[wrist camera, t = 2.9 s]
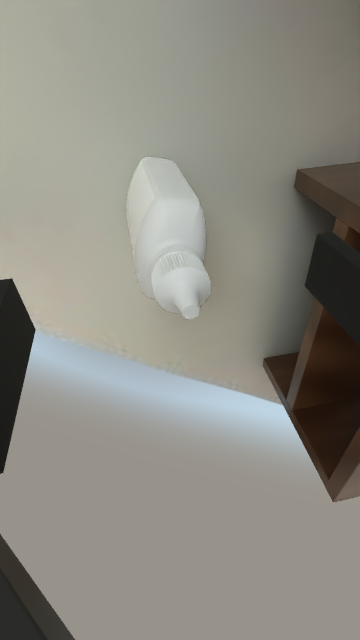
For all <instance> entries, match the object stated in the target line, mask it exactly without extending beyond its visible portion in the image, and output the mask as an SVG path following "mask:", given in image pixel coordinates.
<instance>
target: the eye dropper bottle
mask: <svg viewBox="0 0 360 640" xmlns="http://www.w3.org/2000/svg"><path fill="white" fill-rule="evenodd" d="M126 213H127V222H128V229H129V235H130V241H131V247H132V253H133V259H134V265H135V271H136V276H137V279H138V283H139V286H140V288H141V290H142V292H143V294H144V295H145V296H146V297H148V298H150V299H153V300H156V301H157V303H158V304H159V305H160V306H161V308H163V309H164V310H166V311H168V312H170V313H176V314H181V315H182V316H183V317H184V318H185V319H194V318H196V317H197V316H198V315H199V312H200V309H199V307H200V306H202V305H203V304H204V303H205V302H206V300H207V298H208V297H209V295H210V292H211V281H210V278H209V276H208V274H207V271H206V269H205V267H204V265H203V260H204V256H205V250H206V224H205V217H204V212H203V208H202V205H201V203H200V201H199V200H198V198H197V196H196V194H195V193H194V191H193V190H192V188H191V186H190V185H189V183H188V182H187V180H186V179H185V177H184V176H183V174H182V173H181V171H180V170H179V168H178V167H177V165H176V164H175V162H173V161H171V160H168V159H163V158H157V157H150V156H149V157H144V158H143V159H142V160H140V162H139V164H138V165H137V167H136V169H135V171H134V173H133V176H132V178H131V181H130V185H129V189H128V194H127V202H126Z"/></svg>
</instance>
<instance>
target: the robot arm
mask: <svg viewBox="0 0 360 640" xmlns="http://www.w3.org/2000/svg"><path fill="white" fill-rule="evenodd" d="M305 287H306V288H307V289H308V290H309V291H310V292H311V293H312V295H313V296H314V297H315V298H316V299H317V300H318V301H319V302H320V304H321V305H322V306H323V307H324V308H325V309H326V310H327V311H328V312H329V314H330V315H331V316H332V317H333V318H334V319H335V320H336V321H337V323H338V324H339V325H340V326H341V327H342V328H343V329H344V330H345V331H346V333H347V334H348V335H349V336H350V337H351V338H352V339H353V340H354V342H355V343H356V344H357V345H358V346H359V347H360V253H359V252H358V251H357V250H355V249H354V248H353V247H351V246H350V245H349V244H347V243H346V242H345V241H343V240H342V239H341V238H339V237H338V236H337V235H336V234H334V233H333V232H332V233H325V234H318V235H317V236H316V240H315V245H314V249H313V253H312V257H311V261H310V266H309V270H308V274H307V278H306V282H305ZM34 334H35V327H34V325H33V323H32V321H31V319H30V317H29V314H28V312H27V310H26V308H25V306H24V304H23V301H22V299H21V297H20V295H19V293H18V290H17V288H16V286H15V284H14V282H13V280H12V278H11V279H4V280H0V474H1V473H3V471H4V467H5V462H6V457H7V453H8V449H9V445H10V440H11V436H12V431H13V427H14V423H15V418H16V414H17V409H18V405H19V400H20V396H21V392H22V387H23V383H24V378H25V374H26V369H27V365H28V361H29V356H30V352H31V347H32V343H33V338H34ZM0 640H75V639H74V638H73V636H72V635H71V633H70V632H69V631H68V629H67V628H66V626H65V625H64V623H63V622H62V621H61V619H60V618H59V616H58V615H57V614H56V612H55V611H54V609H53V608H52V607H51V605H50V604H49V602H48V601H47V600H46V598H45V597H44V595H43V594H42V593H41V591H40V590H39V588H38V587H37V585H36V584H35V582H34V581H33V580H32V578H31V577H30V575H29V574H28V573H27V571H26V570H25V568H24V567H23V566H22V564H21V563H20V561H19V560H18V558H17V557H16V556H15V554H14V553H13V551H12V550H11V549H10V547H9V546H8V544H7V543H6V542H5V540H4V539H3V538H2V536H1V534H0Z"/></svg>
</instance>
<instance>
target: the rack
mask: <svg viewBox="0 0 360 640" xmlns="http://www.w3.org/2000/svg"><path fill="white" fill-rule="evenodd" d="M294 187H295V188H296V189H297V190H299V191H300V192H302V193H303V194H304V195H306V196H307V197H309V198H310V199H312V200H313V201H314V202H316V203H317V204H319V205H320V206H321V207H323V208H324V209H326V210H327V211H329V212H330V213H331V214H333V215H334V216H336V217H337V218H336V222H335V225H334V229H333V233H334V234H336V235H337V236H338V237H339V238H341V239H342V240H343V241H345V242H346V243H347V244H349V245H350V246H351V247H353V248H354V249H355V250H357V251H358V252H359V253H360V162H358V163H349V164H341V165H332V166H323V167H314V168H306V169H298V170H297V173H296V179H295V185H294ZM263 367H264V369H265V371H266V373H267V375H268V377H269V379H270V380H271V382H272V384H273V386H274V388H275V390H276V392H277V394H278V396H279V398H280V400H281V402H282V404H283V406H284V407H285V410H286V412H287V413H288V415H289V417H290V419H291V421H292V423H293V425H294V427H295V429H296V431H297V433H298V435H299V437H300V439H301V440H302V443H303V445H304V446H305V448H306V450H307V452H308V454H309V456H310V458H311V460H312V462H313V464H314V466H315V468H316V470H317V471H318V473H319V475H320V478H321V479H322V481H323V483H324V485H325V487H326V489H327V491H328V493H329V495H330V497H331V499H332V501H333V502H337V501H342V500H346V499H350V498H354V497H358V496H360V347H359V346H358V345H357V344H356V343H355V342H354V340H353V339H352V338H351V337H350V336H349V335H348V334H347V333H346V331H345V330H344V329H343V328H342V327H341V326H340V325H339V324H338V323H337V321H336V320H335V319H334V318H333V317H332V316H331V315H330V314H329V312H328V311H327V310H326V309H325V308H324V307H323V306H322V305H321V304H320V302H319V301H318V300H317V299H316V298H314V301H313V305H312V309H311V312H310V316H309V320H308V323H307V327H306V331H305V334H304V338H303V341H302V345H301V349H300V352H298V353H292V354H287V355H281V356H276V357H270V358H265V359H264V362H263Z"/></svg>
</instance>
